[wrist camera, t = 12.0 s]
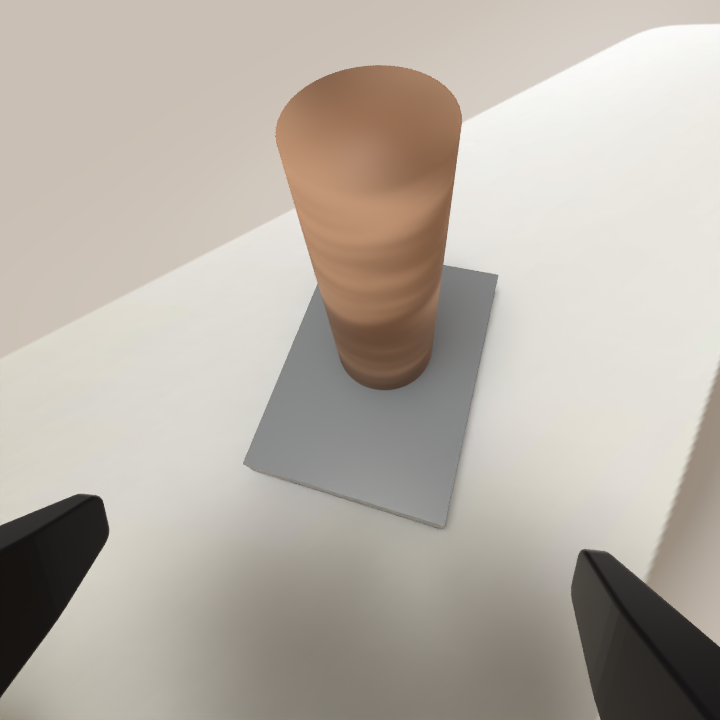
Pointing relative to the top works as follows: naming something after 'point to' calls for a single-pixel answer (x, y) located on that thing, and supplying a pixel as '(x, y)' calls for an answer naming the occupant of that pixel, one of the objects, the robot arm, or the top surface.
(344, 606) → the top surface
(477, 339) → the slate board
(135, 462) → the top surface
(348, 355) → the banded brown cylinder
